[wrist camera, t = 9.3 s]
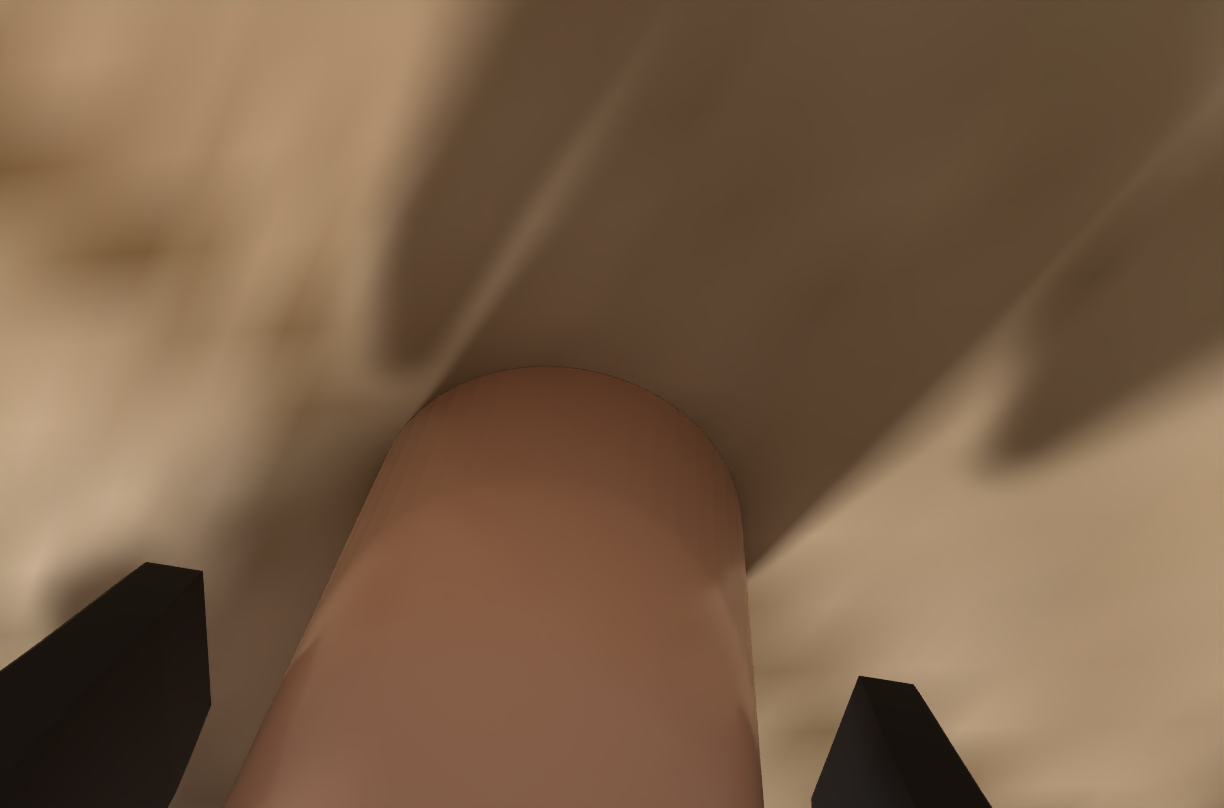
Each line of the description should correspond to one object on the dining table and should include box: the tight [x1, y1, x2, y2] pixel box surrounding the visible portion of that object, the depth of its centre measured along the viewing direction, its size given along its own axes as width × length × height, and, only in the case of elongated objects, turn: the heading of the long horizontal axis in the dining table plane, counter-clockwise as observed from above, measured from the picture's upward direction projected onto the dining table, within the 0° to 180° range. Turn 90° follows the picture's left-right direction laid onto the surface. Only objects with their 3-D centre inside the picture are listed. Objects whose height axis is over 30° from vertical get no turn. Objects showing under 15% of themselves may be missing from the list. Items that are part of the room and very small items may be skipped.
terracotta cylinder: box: [223, 367, 764, 808], centre depth 11 cm, size 5×5×7 cm
